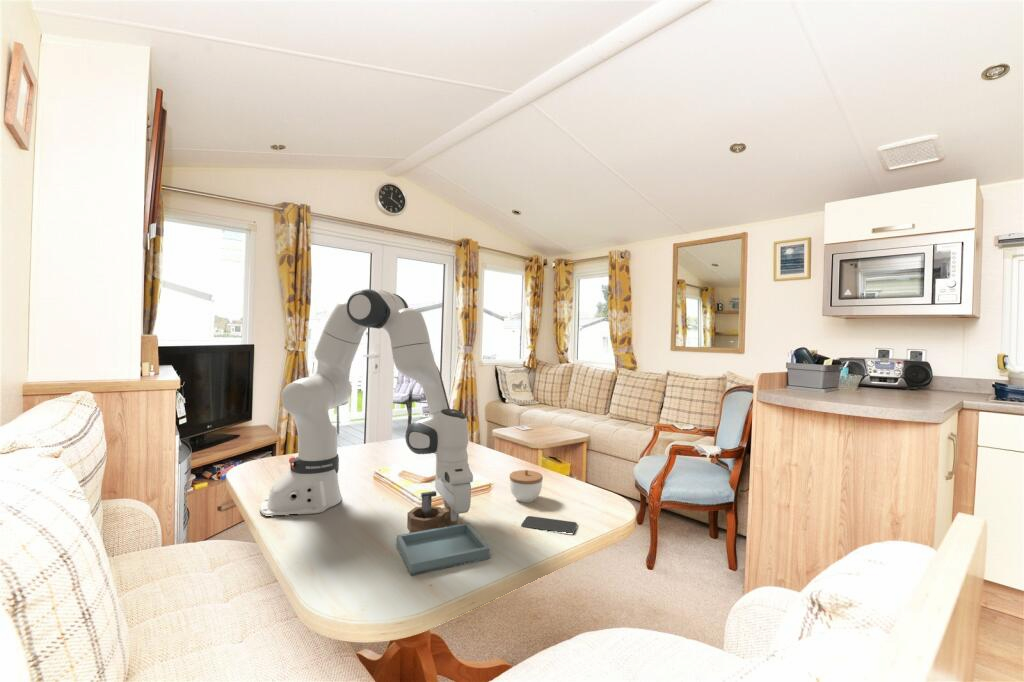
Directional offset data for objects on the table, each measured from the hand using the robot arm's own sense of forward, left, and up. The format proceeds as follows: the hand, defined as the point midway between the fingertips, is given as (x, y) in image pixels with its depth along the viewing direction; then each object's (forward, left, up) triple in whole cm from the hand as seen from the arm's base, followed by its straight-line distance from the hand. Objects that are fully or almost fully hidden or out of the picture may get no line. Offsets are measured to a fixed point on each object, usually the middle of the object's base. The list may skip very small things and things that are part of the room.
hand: (450, 516), depth 126 cm
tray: (-7, -15, -2) cm, 16 cm away
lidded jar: (+28, +8, -2) cm, 29 cm away
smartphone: (+25, -12, -2) cm, 28 cm away
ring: (-5, 0, -2) cm, 5 cm away
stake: (-7, 0, -2) cm, 7 cm away
